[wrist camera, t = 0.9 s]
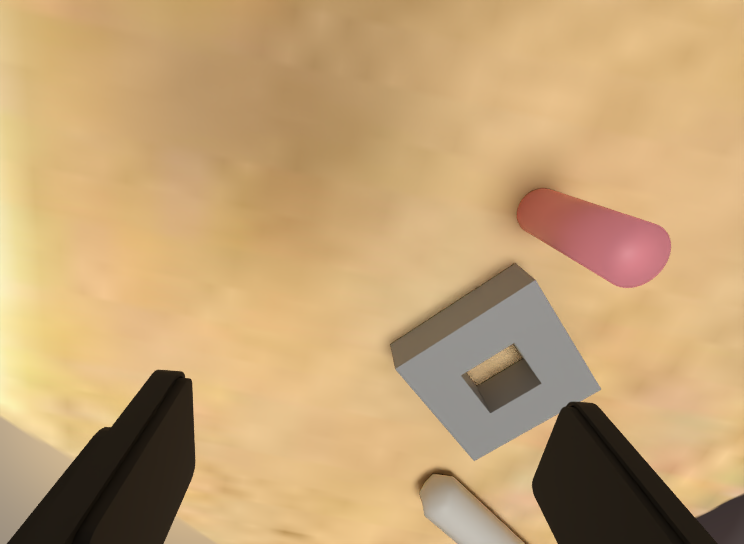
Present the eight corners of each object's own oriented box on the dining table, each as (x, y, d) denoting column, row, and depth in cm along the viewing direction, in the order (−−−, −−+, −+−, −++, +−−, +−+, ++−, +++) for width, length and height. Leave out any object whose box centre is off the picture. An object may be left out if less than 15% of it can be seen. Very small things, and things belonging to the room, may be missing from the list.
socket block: (515, 263, 35) (535, 279, 31) (577, 364, 40) (601, 389, 36) (390, 344, 37) (395, 369, 34) (462, 430, 42) (474, 461, 38)
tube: (407, 517, 41) (527, 616, 49) (449, 508, 38) (569, 614, 46) (412, 469, 45) (522, 567, 53) (450, 459, 43) (559, 563, 51)
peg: (550, 178, 32) (657, 208, 21) (569, 216, 34) (680, 262, 22) (508, 206, 33) (591, 249, 22) (529, 242, 34) (617, 300, 23)
